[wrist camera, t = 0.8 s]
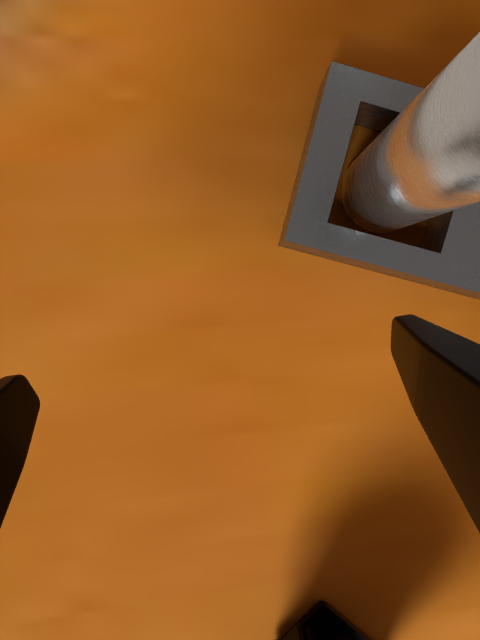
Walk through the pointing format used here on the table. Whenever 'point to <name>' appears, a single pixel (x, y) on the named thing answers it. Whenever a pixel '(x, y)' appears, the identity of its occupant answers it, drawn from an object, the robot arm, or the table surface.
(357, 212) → the steel peg
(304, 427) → the table surface
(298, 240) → the grey flat frame
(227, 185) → the table surface
